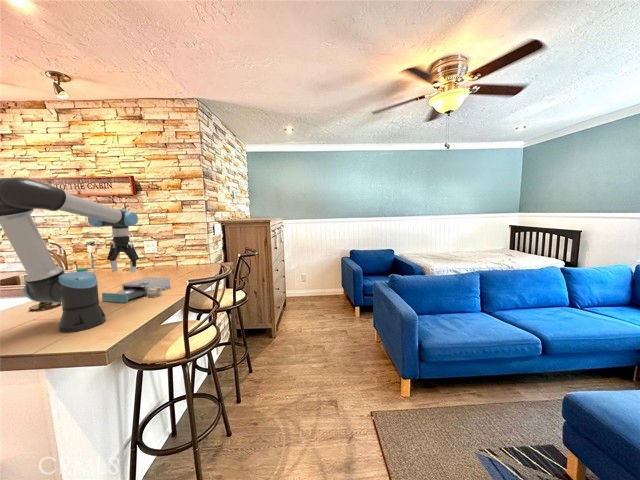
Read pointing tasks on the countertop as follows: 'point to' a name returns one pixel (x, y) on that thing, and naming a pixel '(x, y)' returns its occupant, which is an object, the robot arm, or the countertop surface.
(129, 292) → the disc
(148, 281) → the box
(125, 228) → the robot arm
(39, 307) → the burger
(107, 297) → the tray
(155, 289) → the block
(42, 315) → the countertop surface
